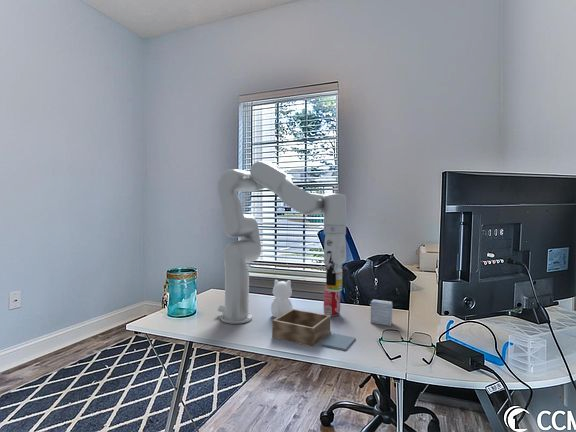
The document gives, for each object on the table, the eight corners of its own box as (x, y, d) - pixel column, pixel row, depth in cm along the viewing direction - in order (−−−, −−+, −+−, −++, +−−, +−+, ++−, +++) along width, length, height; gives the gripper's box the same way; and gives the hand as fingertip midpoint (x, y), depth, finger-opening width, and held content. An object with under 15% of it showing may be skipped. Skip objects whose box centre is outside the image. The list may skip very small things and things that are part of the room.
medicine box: (392, 323, 135) (392, 301, 135) (390, 326, 131) (391, 304, 131) (372, 320, 138) (372, 299, 138) (370, 323, 134) (370, 301, 134)
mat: (322, 345, 111) (322, 343, 111) (333, 334, 121) (333, 333, 121) (345, 350, 107) (345, 349, 107) (355, 339, 117) (355, 337, 117)
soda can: (339, 312, 148) (340, 285, 147) (340, 317, 141) (341, 288, 140) (323, 311, 148) (323, 284, 148) (323, 316, 141) (324, 288, 141)
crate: (272, 337, 117) (272, 320, 117) (292, 324, 131) (292, 308, 131) (313, 346, 110) (313, 328, 110) (330, 331, 124) (330, 315, 124)
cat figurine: (293, 313, 146) (294, 278, 146) (290, 322, 133) (291, 284, 133) (272, 312, 147) (273, 277, 147) (267, 321, 134) (268, 283, 134)
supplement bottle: (324, 288, 117) (325, 260, 117) (340, 288, 118) (340, 260, 118) (328, 292, 112) (328, 262, 112) (343, 291, 112) (344, 262, 112)
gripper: (336, 231, 105) (336, 289, 105) (353, 229, 120) (352, 280, 121) (314, 231, 109) (314, 287, 109) (333, 228, 124) (332, 277, 124)
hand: (334, 282), depth 115 cm, fingers closed on supplement bottle, 5 cm apart
